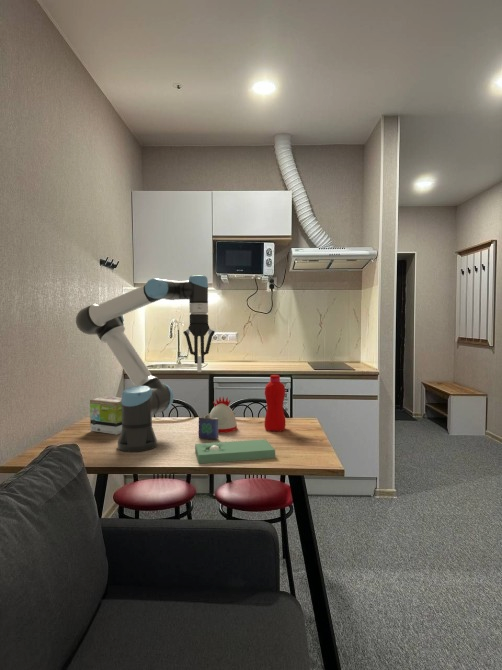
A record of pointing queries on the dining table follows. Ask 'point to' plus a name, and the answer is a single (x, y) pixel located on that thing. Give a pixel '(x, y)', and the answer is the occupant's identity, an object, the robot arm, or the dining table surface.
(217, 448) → the ball
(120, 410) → the tea box
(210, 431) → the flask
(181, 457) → the dining table surface
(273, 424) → the water bottle
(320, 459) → the dining table surface
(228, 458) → the putting mat
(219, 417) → the kitchen timer
